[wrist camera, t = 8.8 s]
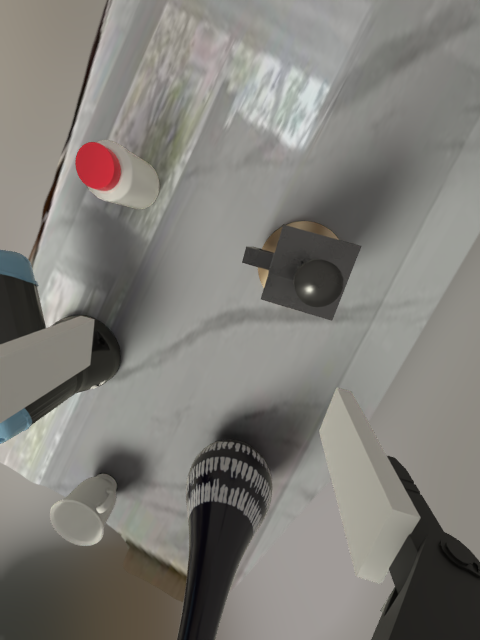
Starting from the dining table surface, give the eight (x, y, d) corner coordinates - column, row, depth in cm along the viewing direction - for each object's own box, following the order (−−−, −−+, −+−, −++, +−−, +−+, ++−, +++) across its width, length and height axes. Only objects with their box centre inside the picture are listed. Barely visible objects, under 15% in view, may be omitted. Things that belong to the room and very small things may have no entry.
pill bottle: (109, 170, 45) (57, 147, 35) (148, 150, 44) (105, 120, 33) (128, 216, 47) (84, 207, 36) (166, 198, 45) (132, 184, 35)
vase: (188, 465, 59) (103, 662, 31) (218, 411, 54) (150, 586, 26) (251, 499, 59) (224, 728, 31) (287, 448, 54) (294, 664, 26)
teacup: (148, 487, 63) (124, 531, 53) (105, 509, 67) (76, 553, 57) (115, 449, 61) (84, 487, 52) (73, 474, 65) (37, 513, 56)
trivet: (248, 293, 47) (248, 294, 46) (272, 211, 43) (272, 210, 42) (326, 317, 46) (327, 318, 45) (358, 234, 42) (359, 234, 41)
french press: (246, 279, 46) (232, 291, 33) (261, 224, 43) (253, 215, 31) (318, 300, 45) (332, 321, 32) (338, 245, 42) (362, 245, 30)
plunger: (272, 283, 43) (265, 311, 24) (286, 237, 40) (291, 229, 22) (316, 296, 42) (344, 335, 24) (333, 250, 40) (378, 253, 21)
